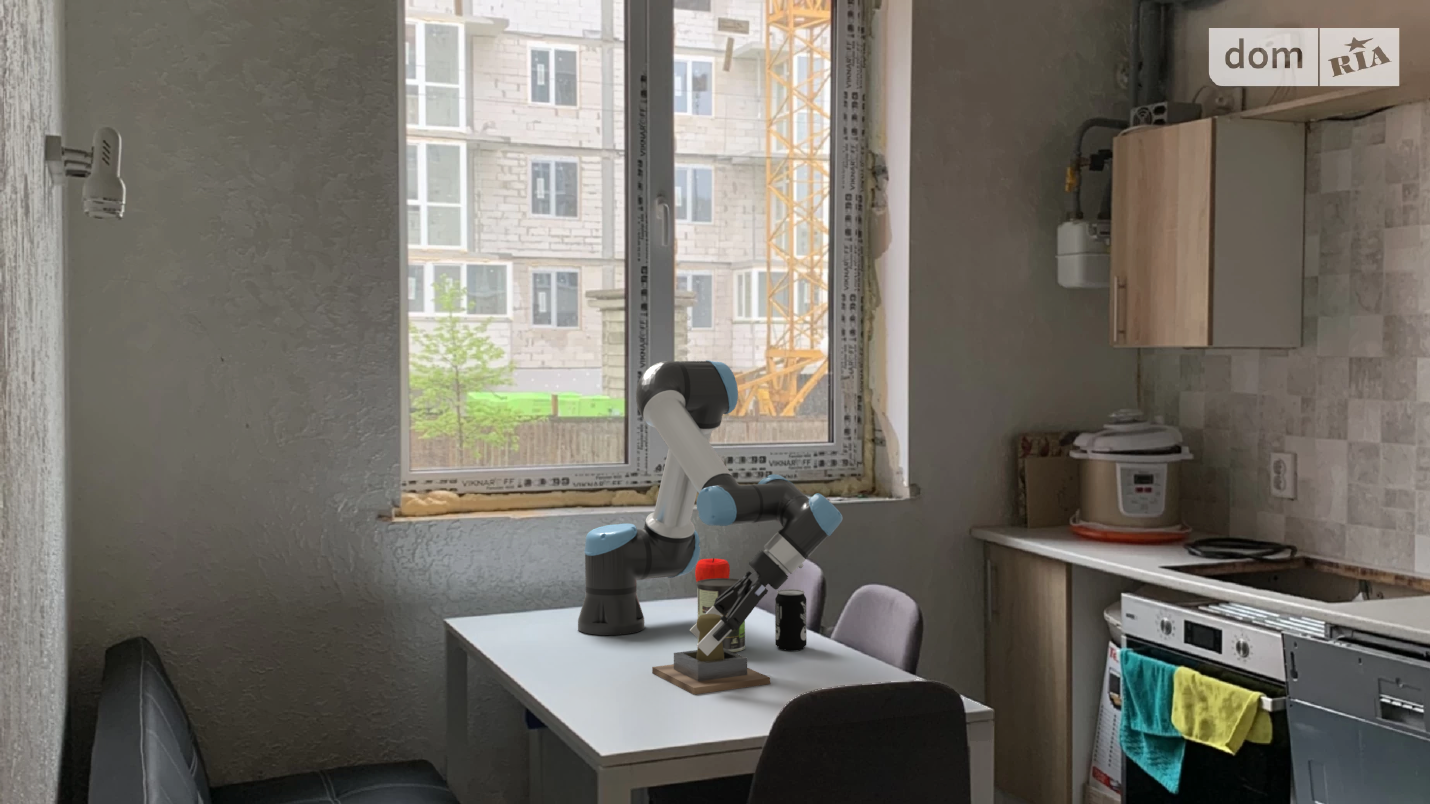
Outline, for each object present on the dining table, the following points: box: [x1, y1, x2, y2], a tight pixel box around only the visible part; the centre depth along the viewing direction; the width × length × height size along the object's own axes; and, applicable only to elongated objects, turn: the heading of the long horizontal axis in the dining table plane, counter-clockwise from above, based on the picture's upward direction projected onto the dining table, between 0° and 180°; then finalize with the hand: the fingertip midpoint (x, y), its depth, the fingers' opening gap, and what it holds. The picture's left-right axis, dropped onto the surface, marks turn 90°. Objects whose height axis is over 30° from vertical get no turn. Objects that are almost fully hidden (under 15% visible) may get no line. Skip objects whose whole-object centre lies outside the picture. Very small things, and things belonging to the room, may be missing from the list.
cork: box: [696, 614, 725, 662], centre depth 232 cm, size 6×6×11 cm
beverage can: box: [774, 588, 808, 652], centre depth 258 cm, size 7×7×12 cm
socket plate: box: [651, 648, 771, 695], centre depth 232 cm, size 18×16×4 cm
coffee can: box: [696, 577, 746, 653], centre depth 258 cm, size 10×10×14 cm
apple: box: [694, 557, 731, 583], centre depth 313 cm, size 9×9×11 cm
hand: (698, 642), depth 232 cm, fingers open, 13 cm apart
